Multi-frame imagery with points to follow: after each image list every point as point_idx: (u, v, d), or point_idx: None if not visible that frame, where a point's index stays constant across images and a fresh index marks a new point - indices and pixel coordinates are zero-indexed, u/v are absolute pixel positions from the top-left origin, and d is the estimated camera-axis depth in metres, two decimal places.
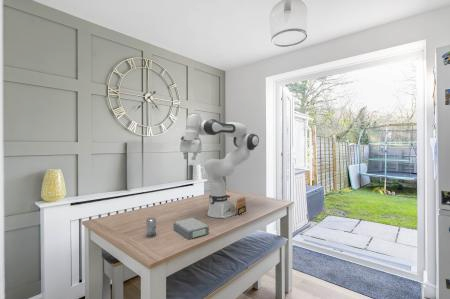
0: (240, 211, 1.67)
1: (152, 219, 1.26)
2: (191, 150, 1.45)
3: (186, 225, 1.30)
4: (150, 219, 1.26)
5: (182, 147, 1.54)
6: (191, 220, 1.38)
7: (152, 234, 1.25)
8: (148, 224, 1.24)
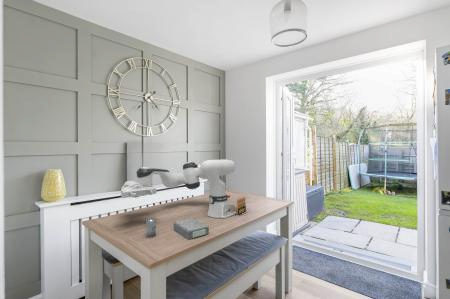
0: (240, 211, 1.67)
1: (152, 219, 1.26)
2: (146, 188, 1.43)
3: (186, 225, 1.30)
4: (150, 219, 1.26)
5: (127, 190, 1.38)
6: (191, 220, 1.38)
7: (152, 234, 1.25)
8: (148, 224, 1.24)
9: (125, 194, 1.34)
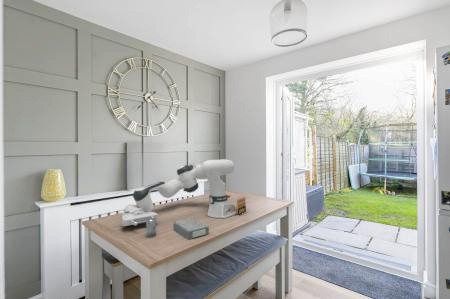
0: (240, 211, 1.67)
1: (152, 219, 1.26)
2: (148, 215, 1.40)
3: (186, 225, 1.30)
4: (150, 219, 1.26)
5: (128, 217, 1.35)
6: (191, 220, 1.38)
7: (152, 234, 1.25)
8: (148, 224, 1.24)
9: (126, 222, 1.31)
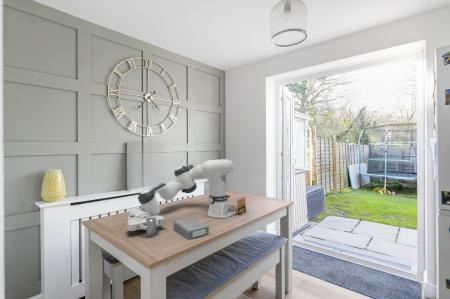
0: (240, 211, 1.67)
1: (152, 219, 1.26)
2: None
3: (186, 225, 1.30)
4: (150, 219, 1.26)
5: (134, 222, 1.28)
6: (191, 220, 1.38)
7: (152, 234, 1.25)
8: (148, 224, 1.24)
9: (132, 227, 1.24)
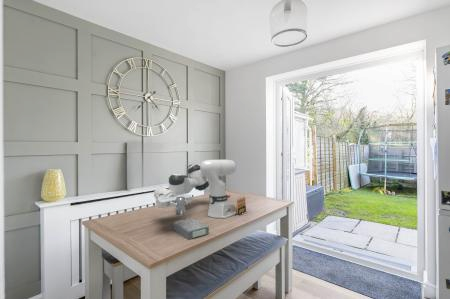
0: (240, 211, 1.67)
1: (182, 198, 1.30)
2: None
3: (186, 225, 1.30)
4: (180, 198, 1.30)
5: (163, 199, 1.31)
6: (191, 220, 1.38)
7: (182, 212, 1.29)
8: (178, 202, 1.29)
9: (163, 204, 1.28)
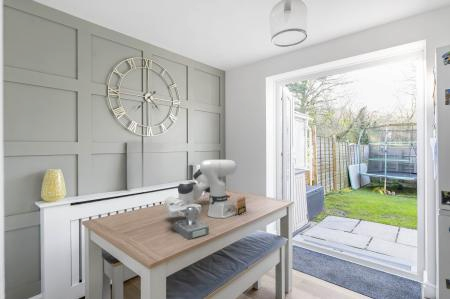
0: (240, 211, 1.67)
1: (192, 208, 1.33)
2: (192, 206, 1.39)
3: (186, 225, 1.30)
4: (190, 208, 1.32)
5: (174, 209, 1.34)
6: None
7: (192, 222, 1.31)
8: (189, 212, 1.31)
9: (173, 213, 1.30)
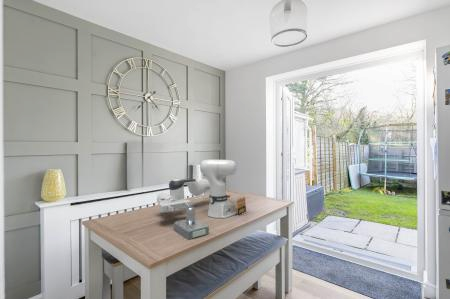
0: (240, 211, 1.67)
1: (192, 208, 1.32)
2: (182, 201, 1.49)
3: (186, 225, 1.30)
4: (190, 208, 1.32)
5: (165, 204, 1.43)
6: None
7: (192, 222, 1.31)
8: (188, 212, 1.31)
9: (164, 208, 1.40)
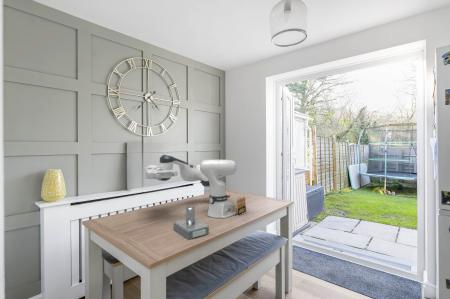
0: (240, 211, 1.67)
1: (191, 207, 1.32)
2: (169, 171, 1.53)
3: (186, 225, 1.30)
4: (190, 208, 1.32)
5: None
6: None
7: (192, 222, 1.31)
8: (188, 212, 1.31)
9: (150, 175, 1.44)
